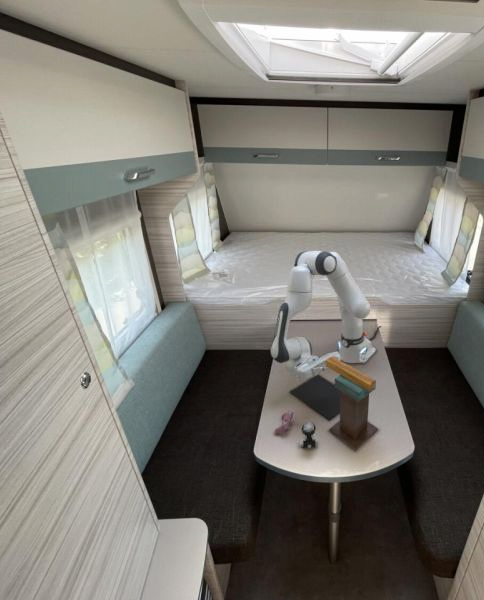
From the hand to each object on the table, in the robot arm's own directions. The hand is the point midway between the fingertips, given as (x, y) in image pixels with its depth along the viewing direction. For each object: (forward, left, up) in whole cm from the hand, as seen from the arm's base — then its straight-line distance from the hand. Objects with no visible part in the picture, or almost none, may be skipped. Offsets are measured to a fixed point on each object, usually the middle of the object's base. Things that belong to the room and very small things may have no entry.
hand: (331, 363), depth 131 cm
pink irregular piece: (+18, -9, -27) cm, 34 cm away
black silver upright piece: (+18, +5, -27) cm, 33 cm away
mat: (-6, -11, -27) cm, 30 cm away
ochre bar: (0, +10, -1) cm, 10 cm away
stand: (0, +13, -27) cm, 30 cm away
